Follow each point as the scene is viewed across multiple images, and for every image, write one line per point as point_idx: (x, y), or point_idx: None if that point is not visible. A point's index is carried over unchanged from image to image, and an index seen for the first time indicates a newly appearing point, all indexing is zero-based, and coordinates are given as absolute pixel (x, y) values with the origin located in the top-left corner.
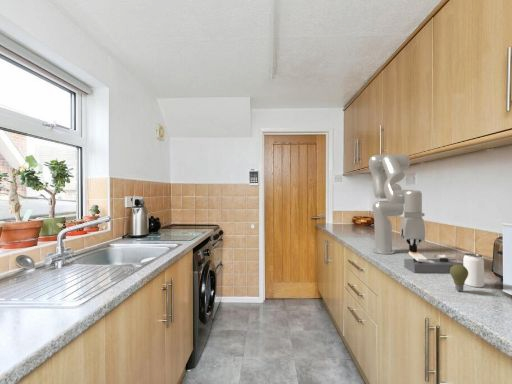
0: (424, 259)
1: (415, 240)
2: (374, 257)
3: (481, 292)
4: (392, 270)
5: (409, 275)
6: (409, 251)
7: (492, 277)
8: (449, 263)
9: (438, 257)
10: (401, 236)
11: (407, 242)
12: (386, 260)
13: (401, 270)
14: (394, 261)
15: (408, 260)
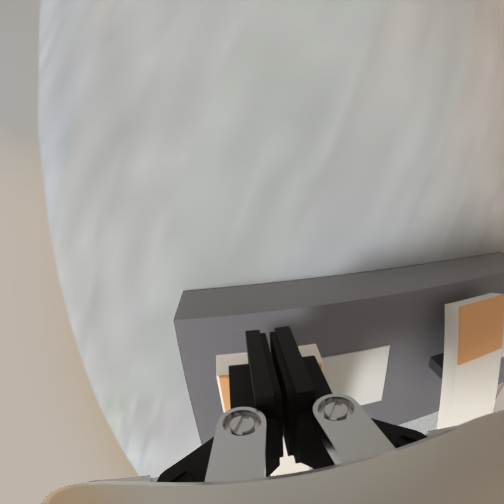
0: (287, 470)
1: (365, 454)
2: (62, 2)
3: None
4: (87, 373)
5: (166, 449)
6: (221, 384)
7: (497, 392)
8: None
9: (444, 364)
10: (64, 499)
11: (194, 466)
12: (109, 72)
13: (141, 373)
14: (164, 96)
15: (197, 370)
